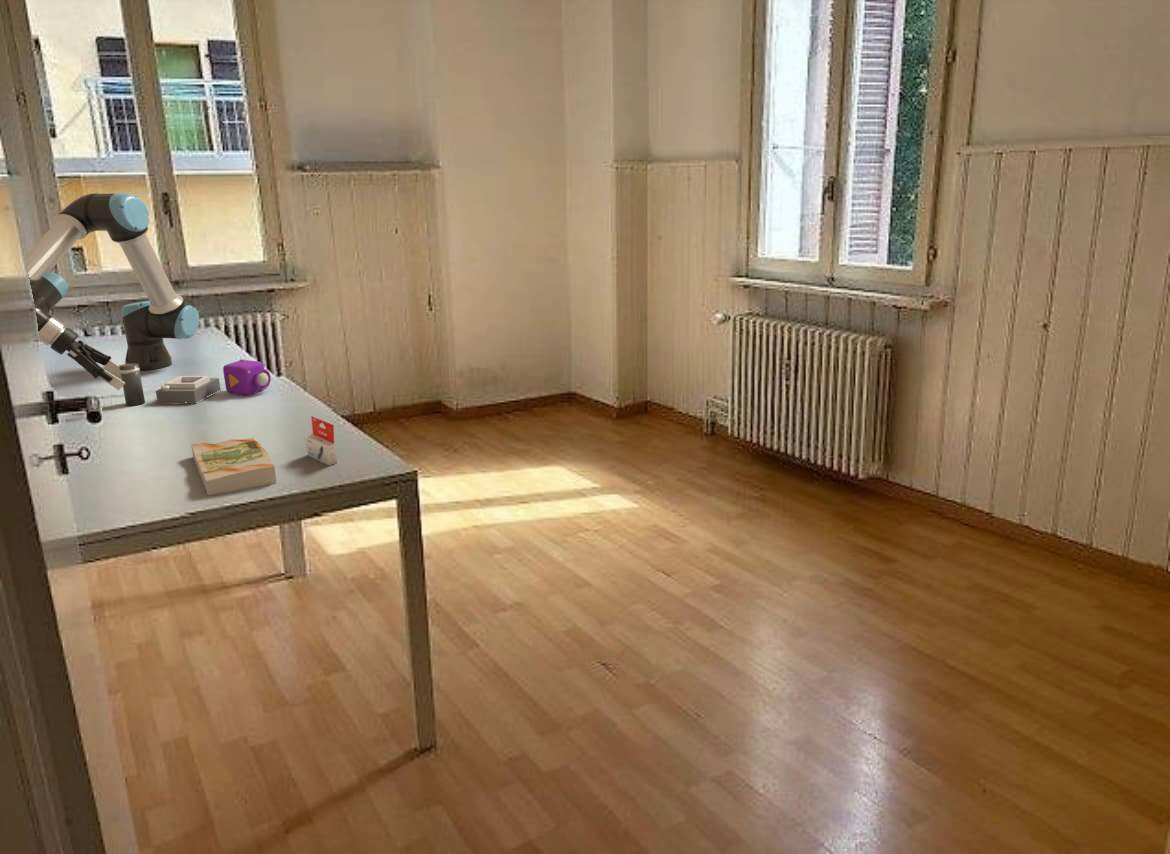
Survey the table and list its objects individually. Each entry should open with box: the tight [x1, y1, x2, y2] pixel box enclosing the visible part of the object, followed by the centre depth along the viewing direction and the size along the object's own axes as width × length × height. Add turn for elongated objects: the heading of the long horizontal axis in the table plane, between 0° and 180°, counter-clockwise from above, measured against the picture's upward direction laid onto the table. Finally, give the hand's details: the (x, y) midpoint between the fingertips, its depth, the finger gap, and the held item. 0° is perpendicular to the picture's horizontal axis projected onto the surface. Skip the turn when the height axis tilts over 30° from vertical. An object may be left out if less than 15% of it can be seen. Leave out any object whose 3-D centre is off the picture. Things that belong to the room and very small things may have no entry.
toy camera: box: [222, 357, 272, 396], centre depth 273 cm, size 11×14×10 cm
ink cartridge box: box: [304, 416, 338, 466], centre depth 210 cm, size 2×11×10 cm, turn 44°
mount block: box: [155, 375, 221, 404], centre depth 269 cm, size 16×12×6 cm
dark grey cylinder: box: [119, 363, 146, 407], centre depth 261 cm, size 5×5×12 cm
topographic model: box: [190, 437, 277, 496], centre depth 205 cm, size 30×14×5 cm, turn 29°
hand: (124, 381), depth 260 cm, fingers open, 13 cm apart
